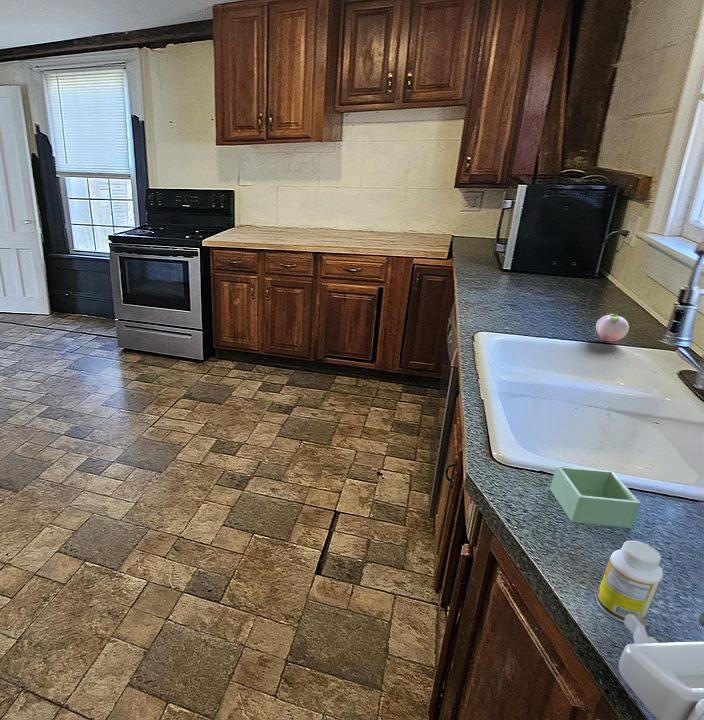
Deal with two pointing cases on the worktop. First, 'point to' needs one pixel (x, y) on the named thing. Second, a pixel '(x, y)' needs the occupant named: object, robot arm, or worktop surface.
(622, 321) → the decorative fruit
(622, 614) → the supplement bottle
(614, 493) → the bin
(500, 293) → the worktop surface
